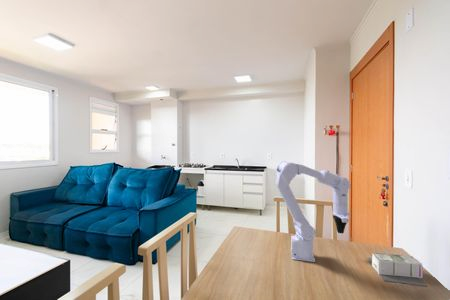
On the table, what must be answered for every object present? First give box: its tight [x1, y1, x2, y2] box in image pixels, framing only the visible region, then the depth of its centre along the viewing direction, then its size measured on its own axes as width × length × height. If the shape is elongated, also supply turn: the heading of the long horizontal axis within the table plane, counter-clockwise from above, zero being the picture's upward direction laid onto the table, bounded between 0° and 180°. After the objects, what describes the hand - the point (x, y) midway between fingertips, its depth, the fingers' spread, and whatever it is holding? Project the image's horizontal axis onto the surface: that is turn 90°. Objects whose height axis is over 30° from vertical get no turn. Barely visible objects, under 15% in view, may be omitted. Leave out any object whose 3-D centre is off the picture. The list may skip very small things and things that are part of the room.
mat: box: [366, 257, 428, 287], centre depth 82 cm, size 13×16×1 cm
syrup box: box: [371, 252, 424, 279], centre depth 81 cm, size 6×6×14 cm
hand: (340, 232), depth 94 cm, fingers closed
